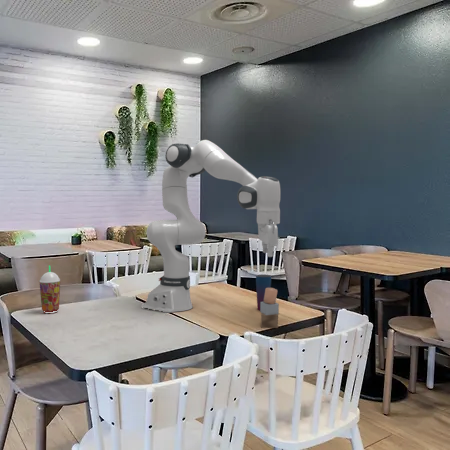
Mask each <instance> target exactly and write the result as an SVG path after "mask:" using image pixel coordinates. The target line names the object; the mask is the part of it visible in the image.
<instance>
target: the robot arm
mask: <svg viewBox="0 0 450 450" xmlns="http://www.w3.org/2000/svg"><path fill="white" fill-rule="evenodd" d="M164 158H165V162H167V164H168V166H167V167H165V168H164V170H163V174H162V183H161V189H162V190H161V191H162V192H161V193H162V195H161V196H162V207H163V209H164V210H166V211H167V212H169V213H171V214H172V215H174V216H175V218H176V219H160V220H155V221H151V222H150V223H149V225H148V226H147V228H146V237H147V240H148V242H149V243H150V244H152V245H153V247H154V246H155V248H157V250H158V251H159V253H160V255H161V257H162V263H163V276H161V277H159V278H158V282H160V284H158V285H157V286H156V287H155V288H153V289H152V290H150V292H149V293H148V295H147V297H146V302H143V303H142V304H141V308H142V307H143V308H148V309H147V310H149V309H155V310H159V311H158V312H161V311H163V312H162V313H169V314H170V313H174V312H183V311H189V310H191V309H192V308H193V307H194V306H193V303H192V299H191V293H190V291H191V289H190V288H191V277H190V276H191V275H190V259H189V257H188V256H187V255H186V254H184V253H182V252H181V251H179V250H176V246H180V245H181V246H182V245H183V246H184V245H185V246H187V245H195V244H199V243H202V242H203V241H204V239H205V238H206V234H207V233H206V227H205V225H204V223H203V222H202V221H201V220H199V219H198V218H197V217H196V216H195V215H194V213H193V212H192V211H191V209H190V205H189V200H188V199H189V198H188V185H187V182H188V181H187V180H188V178H189V177H190V178H195V177H196V176H198V175H202V174H203V173H205V171H206V172H207V173H208V174H209V175H210V176H212V177H214V178H216V179H219V180H226V181H231V182H235V183H238V184H240V185H242V186H241V187H240V188H239V189H238V191H237V195H236V199H237V203H238V205H239V206H240V208H242V209H244V210H245V209H246V210H256V224H257V232H258V239H259V240H260V241H261V246H262V253H264V254H267V257H268V258H272V257H274V254H273V253H274V250H275V247H277V246H278V243H279V232H278V229H279V228H278V226H277V225H279V224H280V223H281V209H280V204H281V203H280V202H281V183H280V181H279V179H277V178H276V177H273V176H269V175H268V176H265V175H263V176H262V175H261V176H260V177H257V176H255V175H254V174H253V173H252V172H250V171H249V170H248V169H247V168H246V167H244V166H242V165H241V164H240V163H239V162H237V161H236V160H234V159H233V158H232V157H231V156H230V155H229V154H227V152H225V151H224V150H223V149H222V148H221V147H220V146H218V145H217V144H216V143H214V142H212V141H210V140H208V139H203V140H202V139H201V140H200V141H198V143H196V144H195V146H190V144H186V143H177V142H176V143H172V144H170V145H169V146H168V147H167V149H166V151H165V157H164ZM143 308H142V309H143ZM155 310H154V311H155Z"/></svg>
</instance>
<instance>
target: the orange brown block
mask: <svg viewBox="0 0 450 450" xmlns="http://www.w3.org/2000/svg"><path fill="white" fill-rule="evenodd" d="M277 295H278V289H277V288H274V287H271V288H266V289H265V295H264V302H265V303H268V304H275V303H277Z"/></svg>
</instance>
